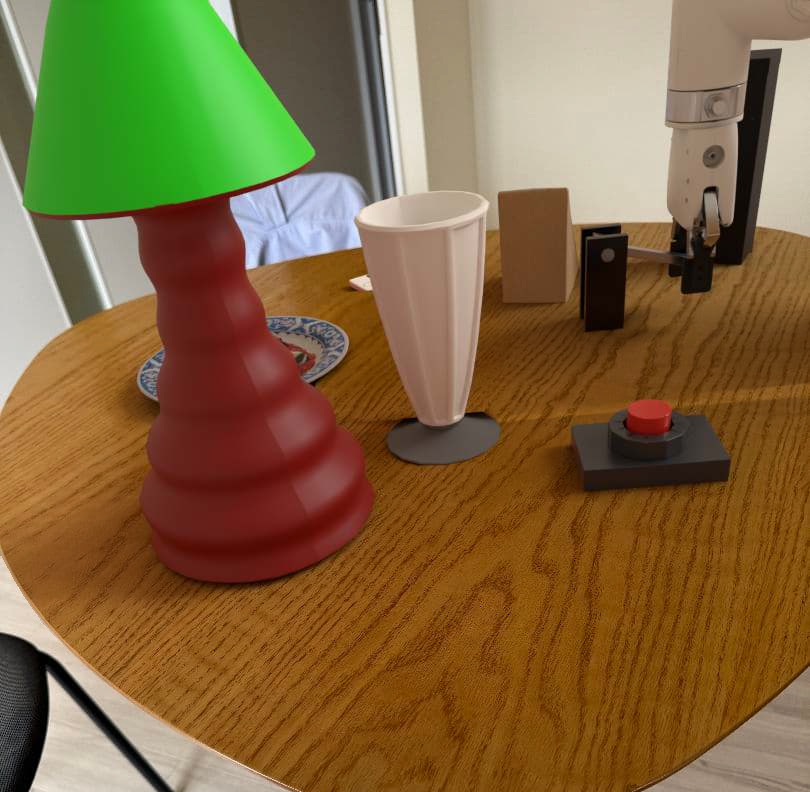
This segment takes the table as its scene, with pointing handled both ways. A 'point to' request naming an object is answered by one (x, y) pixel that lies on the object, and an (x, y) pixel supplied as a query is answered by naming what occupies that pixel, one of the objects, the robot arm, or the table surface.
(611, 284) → the bracket
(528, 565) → the table surface
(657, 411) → the button
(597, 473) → the control block
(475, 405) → the table surface
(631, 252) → the lever
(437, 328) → the cup
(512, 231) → the sandwich container
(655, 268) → the table surface
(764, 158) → the tall black pillar
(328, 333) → the ceramic plate
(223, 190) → the table lamp
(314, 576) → the table surface
